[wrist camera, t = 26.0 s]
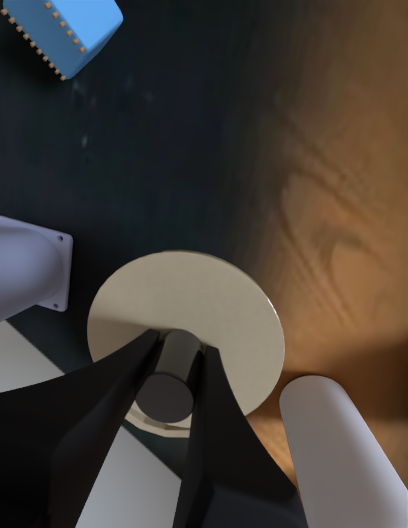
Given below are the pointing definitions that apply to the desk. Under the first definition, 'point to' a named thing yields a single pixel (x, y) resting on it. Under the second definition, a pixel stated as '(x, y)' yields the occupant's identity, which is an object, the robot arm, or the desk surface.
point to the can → (339, 460)
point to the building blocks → (65, 29)
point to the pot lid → (189, 330)
